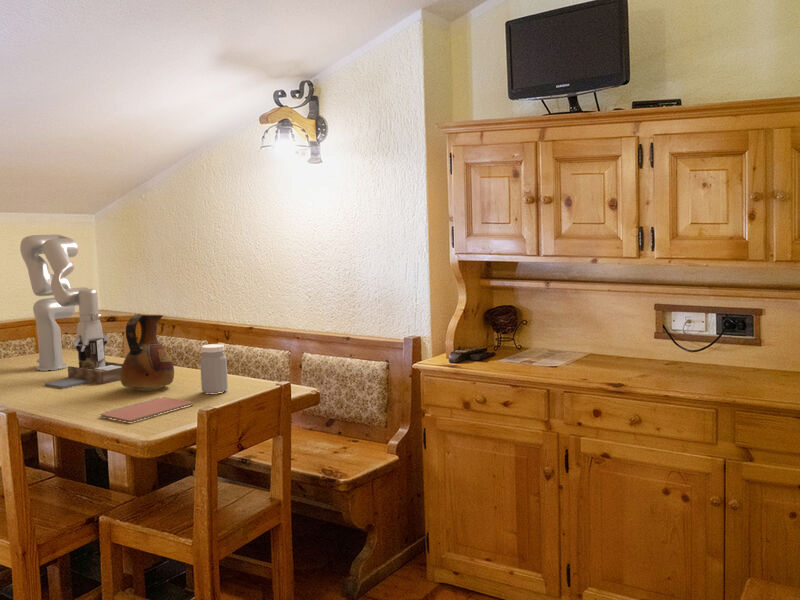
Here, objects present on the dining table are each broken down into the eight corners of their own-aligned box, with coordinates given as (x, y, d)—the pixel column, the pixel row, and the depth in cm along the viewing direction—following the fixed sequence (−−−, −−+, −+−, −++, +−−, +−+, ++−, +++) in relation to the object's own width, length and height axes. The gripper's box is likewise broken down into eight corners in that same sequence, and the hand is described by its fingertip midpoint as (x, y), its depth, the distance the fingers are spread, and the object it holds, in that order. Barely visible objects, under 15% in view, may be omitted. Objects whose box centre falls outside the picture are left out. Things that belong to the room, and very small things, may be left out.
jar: (211, 396, 281) (209, 348, 279) (196, 392, 287) (194, 346, 285) (233, 391, 288) (231, 345, 286) (217, 387, 295) (215, 342, 293)
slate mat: (44, 385, 304) (44, 383, 303) (71, 379, 314) (71, 377, 314) (62, 389, 297) (62, 386, 297) (89, 382, 307) (89, 380, 307)
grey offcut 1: (95, 380, 313) (94, 368, 313) (112, 376, 320) (111, 365, 319) (100, 381, 311) (100, 369, 311) (117, 377, 318) (117, 365, 317)
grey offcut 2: (102, 381, 311) (101, 369, 310) (118, 377, 318) (117, 366, 317) (108, 382, 309) (108, 370, 308) (124, 378, 316) (123, 366, 315)
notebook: (162, 401, 277) (162, 395, 277) (194, 406, 268) (194, 401, 268) (98, 418, 254) (97, 412, 254) (130, 425, 245) (129, 419, 245)
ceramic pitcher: (185, 385, 301) (181, 310, 297) (152, 396, 282) (148, 317, 278) (144, 382, 307) (140, 309, 304) (110, 393, 288) (105, 316, 285)
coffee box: (107, 374, 323) (104, 337, 321) (99, 378, 317) (97, 340, 315) (86, 374, 324) (84, 337, 322) (78, 377, 318) (76, 340, 316)
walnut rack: (68, 378, 317) (67, 366, 316) (99, 371, 330) (98, 360, 329) (103, 384, 305) (102, 371, 304) (134, 376, 318) (133, 365, 317)
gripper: (101, 315, 327) (103, 354, 329) (65, 320, 312) (68, 361, 314) (112, 316, 323) (115, 355, 325) (76, 321, 308) (79, 363, 310)
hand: (92, 358), depth 319 cm, fingers closed on coffee box, 8 cm apart
